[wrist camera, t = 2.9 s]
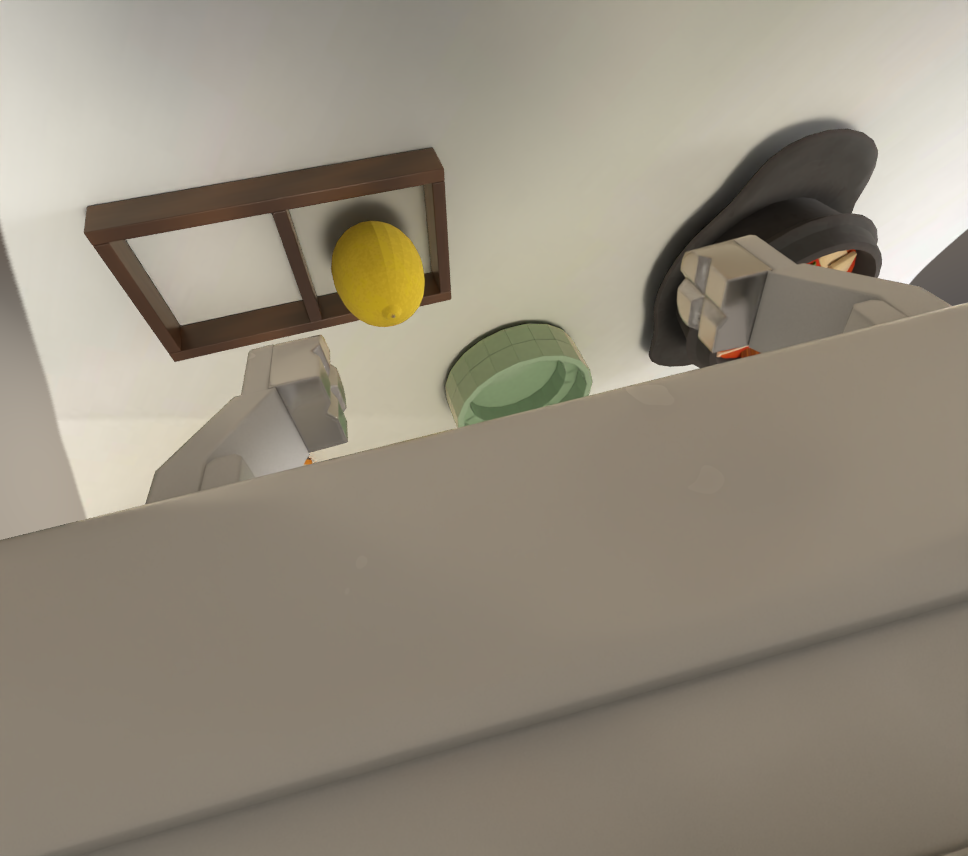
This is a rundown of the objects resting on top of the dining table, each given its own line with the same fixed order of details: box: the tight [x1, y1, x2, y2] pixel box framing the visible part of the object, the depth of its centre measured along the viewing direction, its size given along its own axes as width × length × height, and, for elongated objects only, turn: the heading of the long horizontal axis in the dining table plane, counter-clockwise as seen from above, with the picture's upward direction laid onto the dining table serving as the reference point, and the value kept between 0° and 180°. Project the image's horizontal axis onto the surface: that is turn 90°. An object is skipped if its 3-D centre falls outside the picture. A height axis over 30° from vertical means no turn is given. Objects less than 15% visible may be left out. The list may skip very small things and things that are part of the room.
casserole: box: [649, 129, 882, 368], centre depth 48 cm, size 25×19×8 cm
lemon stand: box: [84, 148, 451, 362], centre depth 34 cm, size 19×10×2 cm, turn 90°
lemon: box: [331, 221, 425, 327], centre depth 34 cm, size 6×6×8 cm
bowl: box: [445, 324, 592, 428], centre depth 51 cm, size 13×13×4 cm
